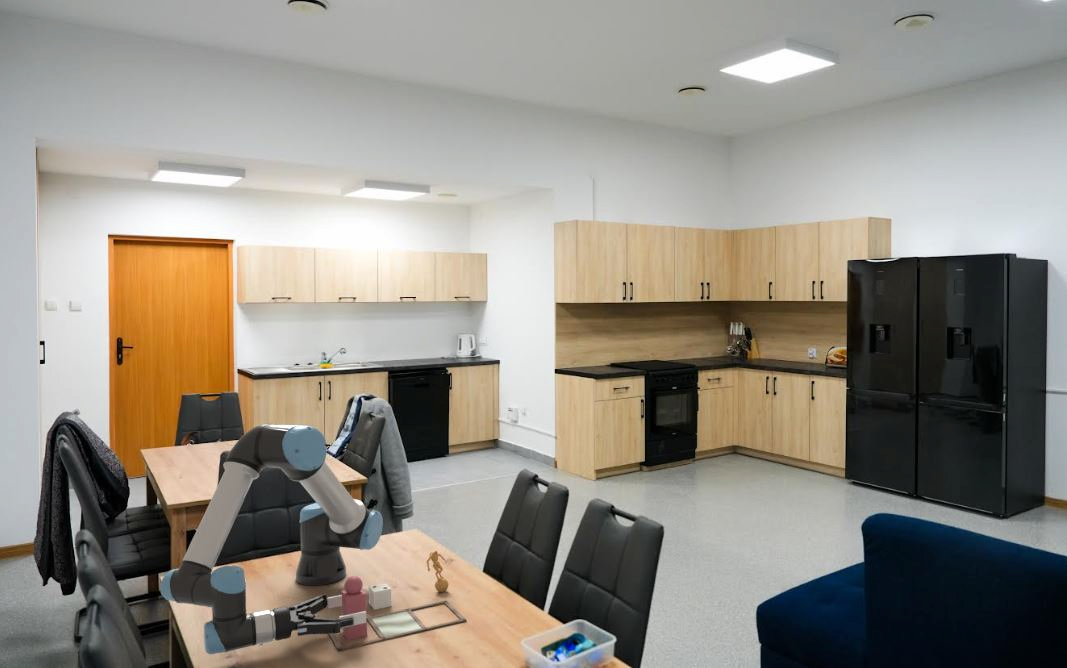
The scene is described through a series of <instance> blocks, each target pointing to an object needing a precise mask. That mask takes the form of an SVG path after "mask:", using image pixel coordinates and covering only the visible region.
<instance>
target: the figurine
mask: <svg viewBox="0 0 1067 668" xmlns="http://www.w3.org/2000/svg"><path fill="white" fill-rule="evenodd" d="M439 557H440V558H441V560H443V561H444V562H445V564H447V561H446V558H444V557H443V556H442V555H441V554H440V553H438V550H435V551H431V552H430V553H429V557H428V558H427V560H426V564H427V572H428V573H430V572H431V568H430V562H429V561H432V563H433V564H432V568H433V569H434V571H435V576H436V578H437V580H436V581H435V584H434V588H435V590H436V591H437V592H438V593H445V592H446V591H448V588H449V582H448V580H447V579H446V578H444V576H443V575H441V573H442V572H443V569H444V568H443V567H442V565H441V564H440V561H439ZM438 575H439V576H438Z"/></svg>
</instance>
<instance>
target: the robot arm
mask: <svg viewBox="0 0 1067 668" xmlns="http://www.w3.org/2000/svg"><path fill="white" fill-rule="evenodd" d="M326 445H327V441H326V438H325V436H324V434H323V433H322V431H321V430H320V429H319V428H316V427H314V426H311V425H310V426H309V425H305V424H273V423H264V424H260V425H256V426H255V427H253V428H251V429H249V430H248V431H246V432H245V433H244V434H243V435H242V436H241V437H240V438H239V439H238V441H236V443H235V444H234V445H233V446H232V448H231V449H230V451H229V453H228V454H227V457H226V459H225V460H224V462H223V464H222V465H223V470H224V471H223V473H222V476H221V479H220V480H219V482H218V484H217V486H216V489H215V491H214V493H213V495H212V497H211V500H210V502H209V504H208V506H207V508H206V510H205V513H204V514H203V517H202V519H201V521H200V522H199V525H198V527H197V529H196V532H195V534H194V536H193V537H192V540H191V541H190V544H189V545H188V549H187V550H186V553H185V554H184V556H183V559H182V560H181V563H180V565H179V567H178V568H174V569H171V570H168V571H167V573H166V574H165V575H163V577H162V580H161V581H160V582H161V583H160V589H159V590H160V594H161V596H162V597H163V598H164V599H165V600H167V601H171V602H175V603H177V604H189V605H194V606H200V607H206V608H211V613H212V617H211V618H212V619H211V620H209V621H206V622H205V623H204V624H203V640H204V642H203V643H204V650H205V651H204V652H206V653H207V654H208V655H213V654H214V655H216V654H220V653H222V654H223V653H228V652H231V651H236V650H239V649H240V650H241V649H244V648H245V649H246V648H247V647H253V646H258V645H259V646H263V644H267V643H270V642H272V641H282V640H286V639H289V638H291V637H292V632H294V631H297V636H300V637H301V636H306V635H329V634H334V635H335V634H336V635H338V634H340V633H341V631H342V630H341V629H343V628H344V627H349V626H353V625H358V624H362V623H366V613H367V610H366V611H363V612H358V613H353V614H348V615H344V616H343V615H339V617H338V618H337V617H324V616H323V617H321V616H316V614H318V613H319V612H322V611H323V610H324V609H326V608H327V609H333V608H338V607H339V608H340V607H342V594H338V595H333V596H329V597H327V594H320V595H318V596H315V597H312V598H310V599H307V600H305V601H302V602H300V603H298V604H294V605H289V606H281V607H276V608H275V607H274V608H273V609H272V611H271V610H270V609H269V608H268V609H264V610H258V611H255V612H251V613H247V589H246V588H247V582H246V576H245V570H244V568H243V567H241V566H239V565H224V566H220V567H217V568H216V569H214V567H215V565H216V563H217V560H218V558H219V557H220V554H221V551H222V549H223V548H224V544H225V542H226V541H227V538H228V536H229V534H230V532H231V529H232V527H233V525H234V522H235V520H236V518H237V516H238V514H239V512H240V510H241V507H242V505H243V503H244V501H245V498H246V495H247V494H248V492H249V489H250V487H251V485H252V483H253V481H254V480H257V479H258V478H259V477H260V474H261V472H262V471H263V469H265V468H271V469H280V470H281V471H282V472H283V473H284V474H285V475H286V477H287V478H288V479H289V480H291V481H294V482H299V483H300V484H301V486H302V487H303V488H304V489H305V490H306V492H307V493H308V494H309V495H310V496H311V498H312V499H313V500H314V501H315V502H313V503H311V504H308V505H306V506H304V507H302V508H301V510H300V511H299V512H300V513H299V516H300V517H299V531H300V532H299V534H300V537H299V538H300V558H299V560H298V564H297V568H296V571H295V580H296V582H297V583H299V585H300V584H301V585H303V586H322V585H328V584H334V583H335V582H339V581H340V580H342V579H345V577H346V576H345V575H347V566H346V563H345V561H344V558H343V555H342V553H341V550H340V548H345V549H354V550H355V549H356V550H360V551H364V550H367V551H368V550H371V549H373V548H375V547H376V546H377V545H378V543H379V541H380V539H381V536H382V532H383V527H384V526H383V525H384V524H383V523H384V522H383V521H384V520H383V516H382V513H381V512H379V511H378V510H376V509H372V510H370V509H368V507H366V505H365V504H364V503H363V502H362V501H361V500H359V499H358V498H357V499H356V498H353V497H352V495H351V494H350V493H349V491H348V490H347V489H346V487H345V486H344V484H342V482H341V480H339V478H338V477H337V475H335V473H334V472H333V470H332V469H331V468H330V466H329V465H328V463H327V462H326V457H327V452H328V447H327V446H326ZM213 569H214V570H213Z"/></svg>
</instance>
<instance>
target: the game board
mask: <svg viewBox="0 0 1067 668" xmlns="http://www.w3.org/2000/svg"><path fill="white" fill-rule="evenodd" d="M439 605H445V606H446V607H447V608H448V609H449V610H450V611H451V612H452V613H453V614H454V615H456V617H457V618H458V619H456V620H452V621H448V622H443V623H439V624H435V625H431V626H425V624H424V623H423V622H422V621H421V619H419V618H418V616H416V614H415V613H414V612H413V611H417V610H421V609H426V608H431V607H435V606H439ZM367 620H368V621H367V623H369V625H370V627H372V629H373V630H374V631H375V633H376V634H377V636H378V638H374V639H370V640H365V641H362V642H358V643H352V644H349V645H344V646H342V645H341V643H340V642H339V640H338V639H337V637H336V635H335V634H328V635H329V637H330V640H331V641H332V642H334V643H333V644H334V646H335V648H336V649H338V650H337V651H338V652H340V651H345V650H346V651H347V650H350V649H354V648H358V647H361V646H366V645H371V644H375V643H379V642H383V641H387V640H392V639H393V640H394V639H397V638H401V637H405V636H409V635H413V634H418V633H424V632H427V631H430V630H434V629H440V628H443V627H447V626H452V625H457V624H459V623H460V624H462V623H465V622H467V618H465V617H464V616H463V615H462V614H461V613H460V612H459V611H458V610H457V609H456V608H455V607H454V606H453V605H452V604H451V603H449V601H448V600H442V601H436V602H432V603H428V604H424V605H419V606H415V607H410V608H404V609H401V610H395V611H391V612H386V613H382V614H377V615H373V616H368V617H367Z"/></svg>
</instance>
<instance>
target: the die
mask: <svg viewBox="0 0 1067 668" xmlns="http://www.w3.org/2000/svg"><path fill="white" fill-rule="evenodd" d="M368 603H369V605H370V606H371V608H372V609H373V610H380V608H381V609H384V608H390V607H392V588H391V587H390V586H389V584H388V583H387V582H384V583H379V584H374V585H373V584H372V585H369V586H368Z"/></svg>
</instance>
